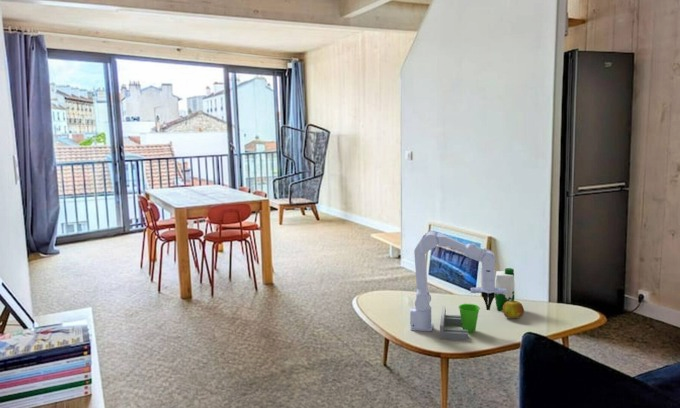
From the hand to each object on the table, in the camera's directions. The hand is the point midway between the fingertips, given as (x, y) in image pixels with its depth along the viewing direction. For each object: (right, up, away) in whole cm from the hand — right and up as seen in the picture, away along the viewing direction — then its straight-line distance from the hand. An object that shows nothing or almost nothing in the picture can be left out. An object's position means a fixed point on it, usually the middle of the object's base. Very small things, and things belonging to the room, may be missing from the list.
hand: (488, 309), depth 214 cm
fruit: (+17, -8, +17) cm, 25 cm away
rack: (-13, -10, +5) cm, 18 cm away
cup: (-7, -11, +3) cm, 13 cm away
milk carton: (+17, -6, +29) cm, 34 cm away
